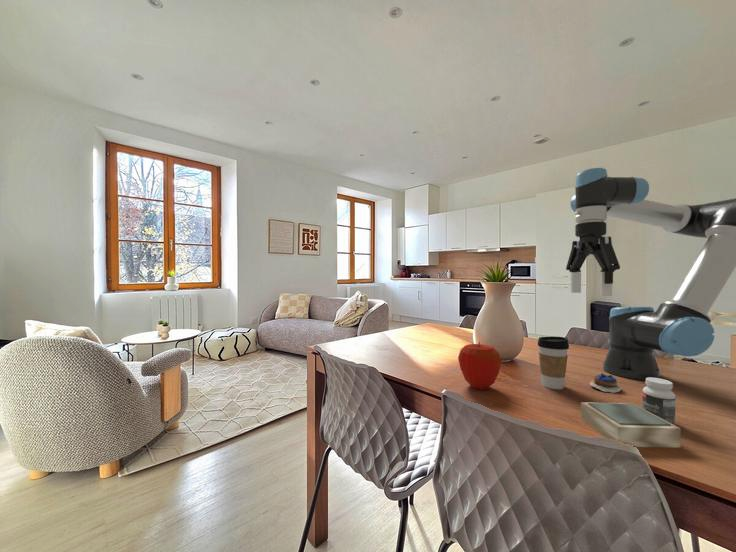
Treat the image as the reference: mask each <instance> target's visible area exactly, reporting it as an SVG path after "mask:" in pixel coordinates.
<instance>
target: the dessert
mask: <svg viewBox="0 0 736 552" xmlns="http://www.w3.org/2000/svg"><path fill="white" fill-rule="evenodd" d="M600 373H601V374H597V375H595V376H594V379H592V380H591V381H589V385H590V386H591V387H593V388H595V389H598V390H600V391H602V392H605V393H606V392H607V393H608V392H609V393H612V394H614V393H619V392H621V390H622V387H621V386H620V385H618V382H617V378H616V377H614V376H613V374H608V375H607V374H604V373H602V372H600Z"/></svg>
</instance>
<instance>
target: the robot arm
mask: <svg viewBox="0 0 736 552" xmlns="http://www.w3.org/2000/svg"><path fill="white" fill-rule="evenodd" d="M607 171H608V170H607V169H606V168H603V167H592V168H588V169H584V170H581V171H579V172H578V173H577V174H576V178H575V185H574V186H575V187H574V190H575V194H574V195H573V196H572V198H571V199H570V202H569V203H570V208H571V210H572V211H573V212H574V214H575V223H577V224H575V226H574V229H575V230H574V231H575V237H577V238H579V240H573V241H572V244H571V250H570V253H569V257H568V260H567V264H566V267H565V269H566V271H569V272H570V293H572V294H575V293H577V294H581V293H582V270H581V268H582V267H583V264H584V263H585V261H586V259H587V257H588V256H590V255H592V256H594V259H595V260H596V262H597V263H598V265H599V267H600V271H599V273H600V274H599V277H600V278H599V280H600V281H599V282H600V283H599V287H600V288H599V292H600V293H599V295H600V297H601V296H602V297H612V296H613V284H614V273H615V271H617V270H620V269H621V266H620V263H619V260H618V258H617V255H616V252H615V250H614V247H613V243H612V236H605V235H607V222H606V220H607V217H611V218H618V219H622V220H626V221H631V222H636V223H640V224H645V225H650V226H654V227H659V228H662V229H663V230H664V231H665V232H668V233H673V234H677V235H682V236H687V237H694V238H701V239H707V240H706V242H705V243H704V245H703V246H702V248H701V250H700V251H699V253H698V254H697V256H696V257H695V260H694V261H693V263H692V264H691V266H690V267H689V269H688V270H687V273H685V276H684V278H683V279H682V280H681V282H680V284H679V286H678V287H677V289H676V291H675V292H674V294H673V295H672V296H671V298H670V300H668V301H663V302H661V303H660V304H659V306H658V308H657V309H656V311H655V310H654V307H653V306H624V307H623V306H618V307H617V306H616V307H612V308H611V309H610V312H609V317H608V326H609V327H608V328H609V332H608V333H609V341H608V342H609V349H608V351H607V353H606V356H605V358H604V361H602V363H603V364H602V370H603V371H604V372H606V373H608V374H610V375H612V376H613V375H614V376H618V377H622V378H625V379H632V380H640V381H646V378H648V377H652V378H660V379H661V370H660V368H659V366H658V363H657V360H656V357H655V354H654V350H656V351H660V352H664V353H667V354H668V355H669V354H670V355H673V356H682V357H686V358H687V357H695V356H700V355H701V354H703V353H705V352H706V351H707V350H709V349H710V347H712V345H713V342H714V340H715V335H713V334H714V333H715V329H714V327H713V325H712V323H711V322H712V319H711V317H710V315H709V314H708V313H709V312H710V310H711V309H712V307H713V305H714V303H715V302H716V301H717V298H718V297H719V295H720V293H721V292H722V290H723V288H724V287H725V285H726V284H727V282H728V281H729V279H730V277H731V276H732V274H733V273H734V271H735V269H736V198H731V199H724V200H718V201H714V202H709V203H704V204H703V203H701V204H695V205H694V204H693V205H689V204H683V203H679V204H675V205H673V204H668V203H662V202H657V201H654V200H650V199H649V200H648V199H646V198H647V197H648V195H649V192H650V184H649V182H648V181H647V180H646V179H644V178H643V177H635V176H630V177H623V176H622V177H621V176H617V177H616V176H614V177H613V176H609V175H608V172H607Z"/></svg>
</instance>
